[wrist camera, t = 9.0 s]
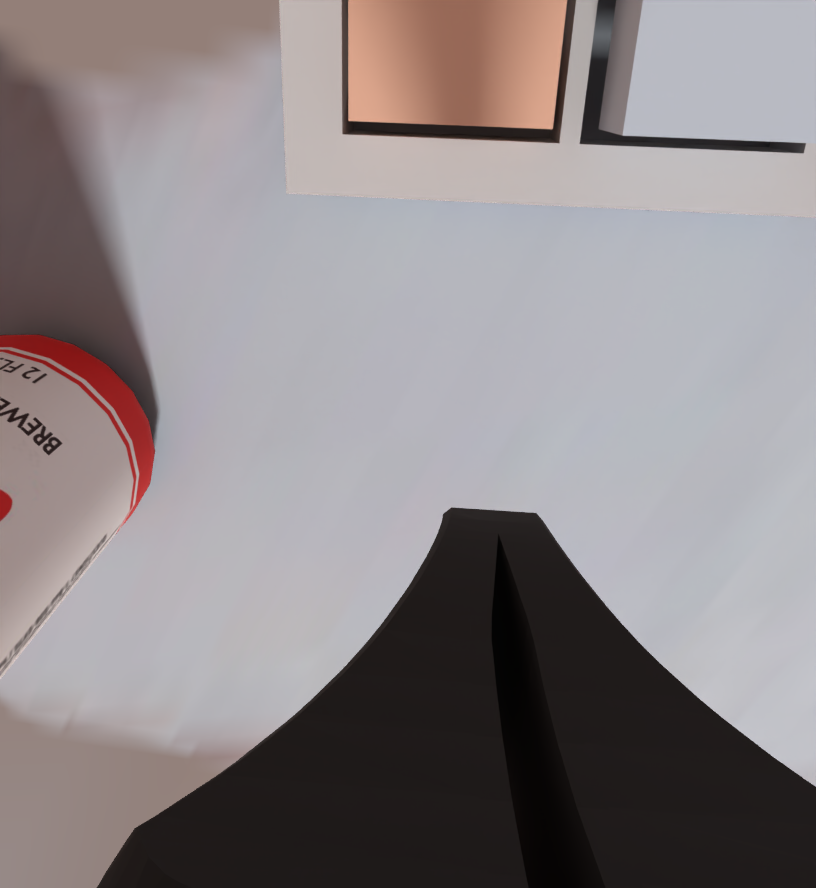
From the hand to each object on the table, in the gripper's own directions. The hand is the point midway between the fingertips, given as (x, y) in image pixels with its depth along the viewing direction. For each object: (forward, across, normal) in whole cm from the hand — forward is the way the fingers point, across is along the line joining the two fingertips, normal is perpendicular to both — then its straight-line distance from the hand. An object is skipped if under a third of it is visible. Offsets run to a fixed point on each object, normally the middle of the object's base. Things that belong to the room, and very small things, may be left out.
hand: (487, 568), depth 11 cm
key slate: (+7, -4, -8) cm, 11 cm away
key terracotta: (+8, +1, -8) cm, 11 cm away
